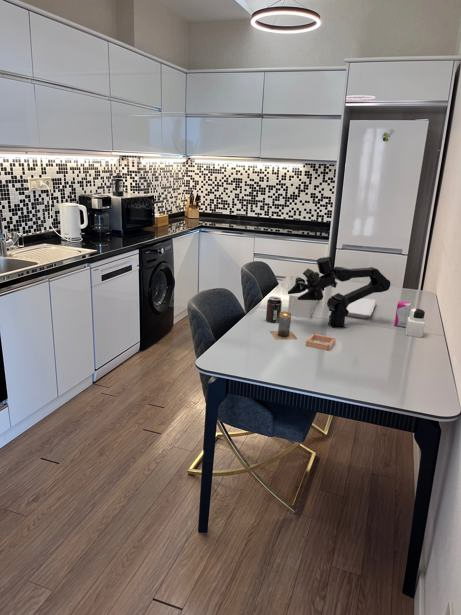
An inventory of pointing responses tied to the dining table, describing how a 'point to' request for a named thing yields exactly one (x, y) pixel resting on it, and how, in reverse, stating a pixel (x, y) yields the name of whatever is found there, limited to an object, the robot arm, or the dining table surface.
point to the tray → (361, 308)
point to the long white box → (300, 305)
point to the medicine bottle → (415, 323)
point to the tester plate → (291, 336)
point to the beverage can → (273, 309)
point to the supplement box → (402, 314)
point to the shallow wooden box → (320, 345)
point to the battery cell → (284, 324)
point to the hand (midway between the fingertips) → (292, 296)
